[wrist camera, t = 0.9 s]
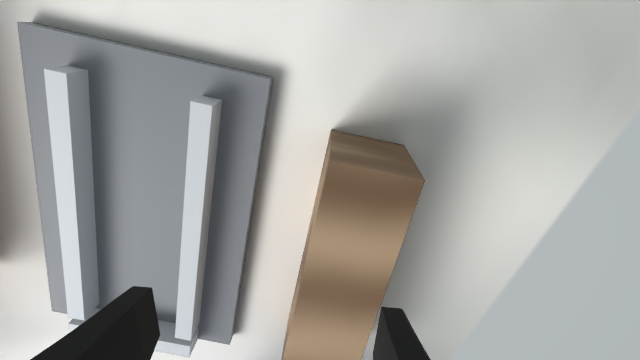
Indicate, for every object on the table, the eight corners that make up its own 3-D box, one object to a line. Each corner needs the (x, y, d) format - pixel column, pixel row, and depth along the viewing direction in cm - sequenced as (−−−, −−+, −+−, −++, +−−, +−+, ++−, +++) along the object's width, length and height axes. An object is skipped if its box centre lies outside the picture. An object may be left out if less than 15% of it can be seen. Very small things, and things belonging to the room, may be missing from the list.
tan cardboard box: (344, 331, 25) (346, 401, 20) (287, 321, 24) (276, 389, 20) (403, 143, 19) (424, 180, 14) (331, 128, 19) (329, 160, 14)
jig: (232, 335, 25) (223, 363, 23) (60, 302, 24) (34, 328, 22) (273, 77, 18) (264, 83, 16) (31, 22, 17) (-12, 21, 15)
